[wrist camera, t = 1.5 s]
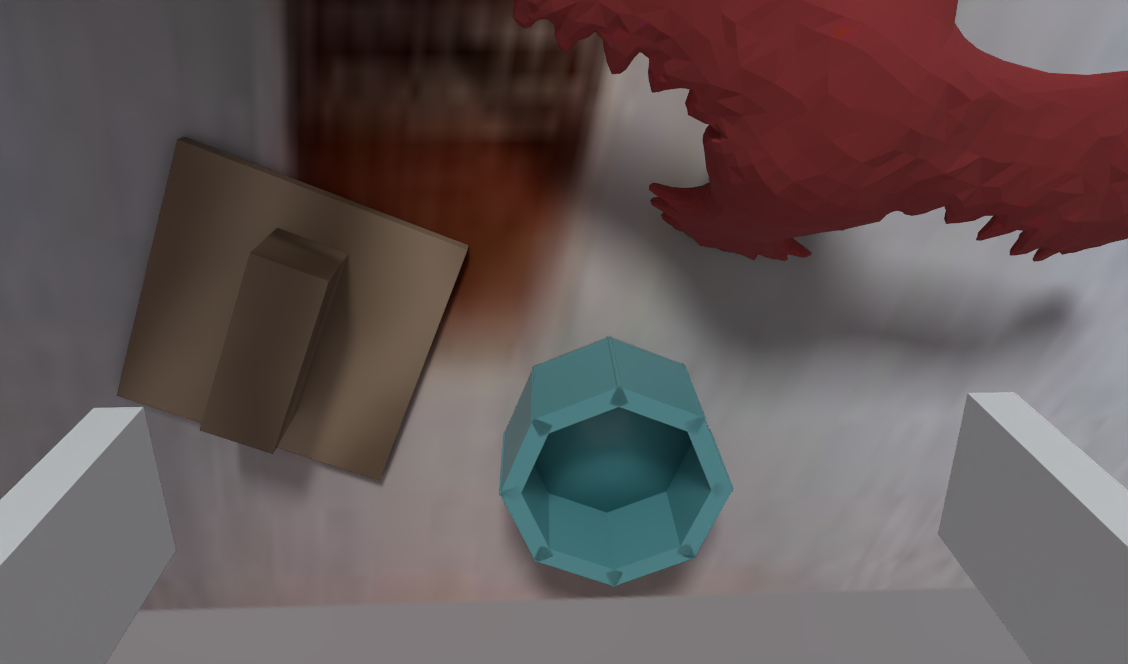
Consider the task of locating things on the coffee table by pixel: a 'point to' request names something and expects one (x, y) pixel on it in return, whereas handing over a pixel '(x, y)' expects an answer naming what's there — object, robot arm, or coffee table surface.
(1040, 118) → the decorative bird sculpture
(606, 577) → the teal bowl
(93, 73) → the coffee table surface
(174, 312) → the walnut lid
